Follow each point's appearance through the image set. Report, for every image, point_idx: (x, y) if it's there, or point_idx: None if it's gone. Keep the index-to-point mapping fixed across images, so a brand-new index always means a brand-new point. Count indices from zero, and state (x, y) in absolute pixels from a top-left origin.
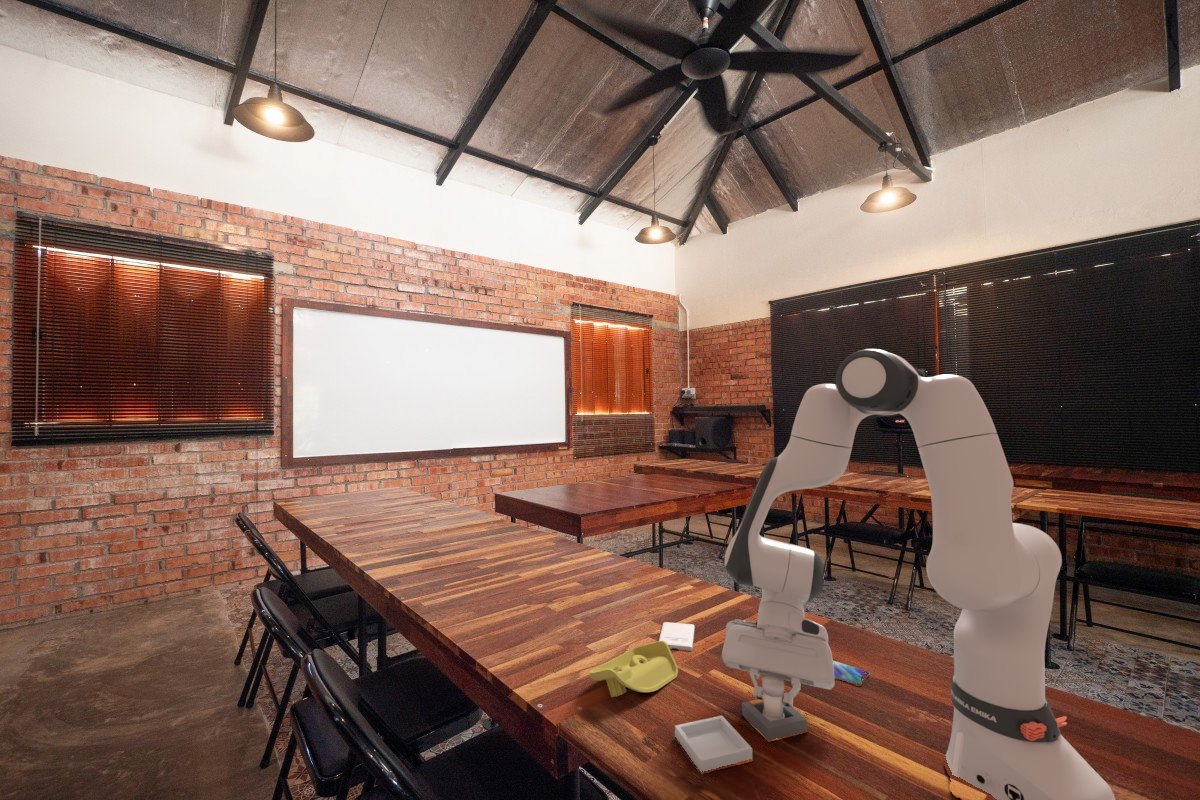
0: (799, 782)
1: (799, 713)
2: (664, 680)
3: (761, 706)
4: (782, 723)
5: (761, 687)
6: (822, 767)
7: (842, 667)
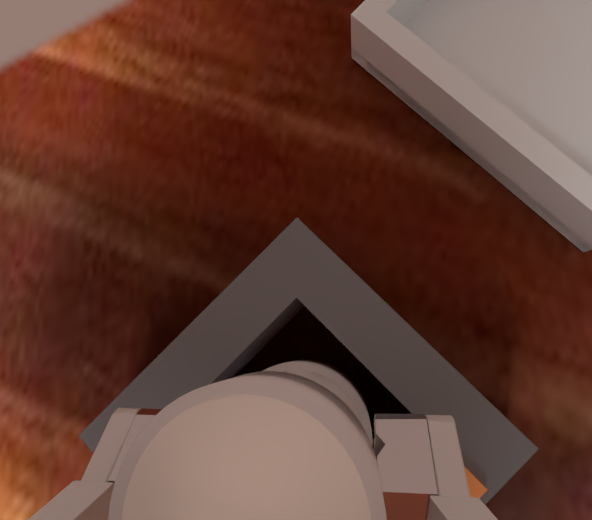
0: (141, 37)
1: None
2: None
3: None
4: (218, 312)
5: (389, 484)
6: (51, 179)
7: None
